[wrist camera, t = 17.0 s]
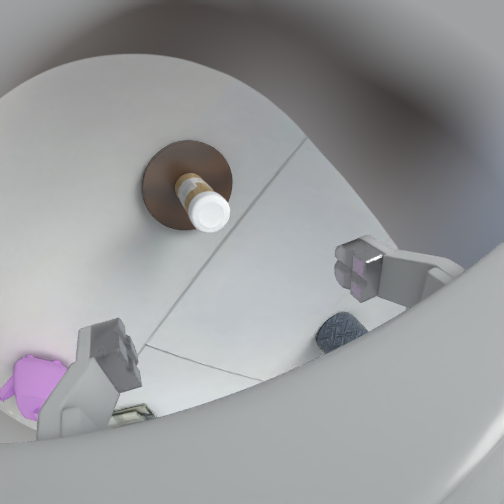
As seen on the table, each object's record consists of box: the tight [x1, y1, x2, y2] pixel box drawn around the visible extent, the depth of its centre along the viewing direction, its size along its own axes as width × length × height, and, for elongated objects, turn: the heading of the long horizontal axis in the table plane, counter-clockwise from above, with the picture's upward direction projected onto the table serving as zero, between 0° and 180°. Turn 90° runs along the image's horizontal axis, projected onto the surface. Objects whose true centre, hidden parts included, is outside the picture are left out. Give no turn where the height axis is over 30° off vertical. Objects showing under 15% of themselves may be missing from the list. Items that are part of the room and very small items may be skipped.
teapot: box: [0, 355, 67, 421], centre depth 42 cm, size 20×12×13 cm, turn 67°
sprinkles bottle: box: [175, 173, 230, 233], centre depth 38 cm, size 5×5×14 cm
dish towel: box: [106, 405, 155, 430], centre depth 62 cm, size 19×18×3 cm
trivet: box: [142, 140, 232, 230], centre depth 44 cm, size 14×14×2 cm
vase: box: [317, 312, 368, 354], centre depth 64 cm, size 12×12×28 cm
